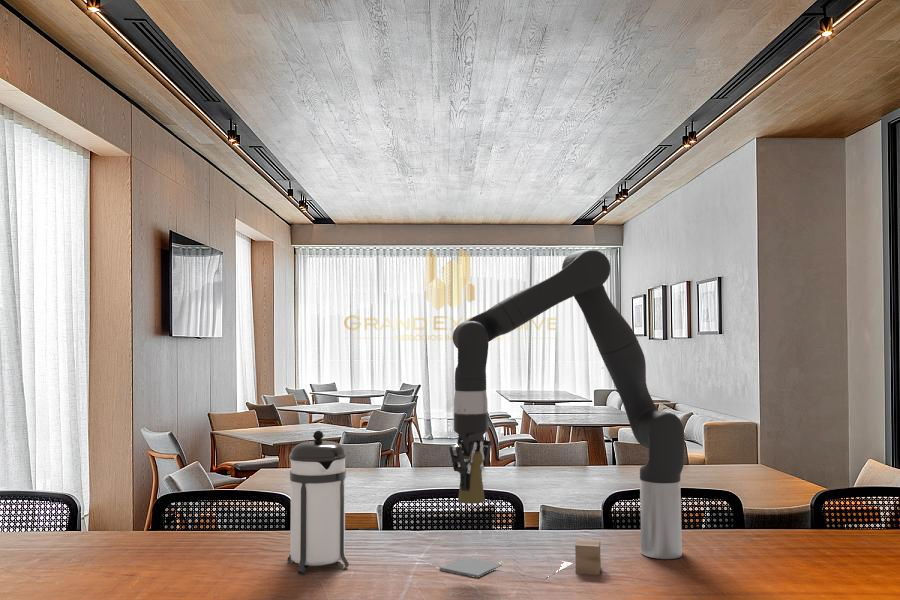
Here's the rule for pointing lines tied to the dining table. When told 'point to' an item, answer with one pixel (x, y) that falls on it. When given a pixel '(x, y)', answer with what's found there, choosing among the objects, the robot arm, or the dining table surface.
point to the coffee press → (317, 504)
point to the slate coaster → (470, 566)
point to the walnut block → (587, 556)
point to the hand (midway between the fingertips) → (471, 488)
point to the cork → (473, 482)
